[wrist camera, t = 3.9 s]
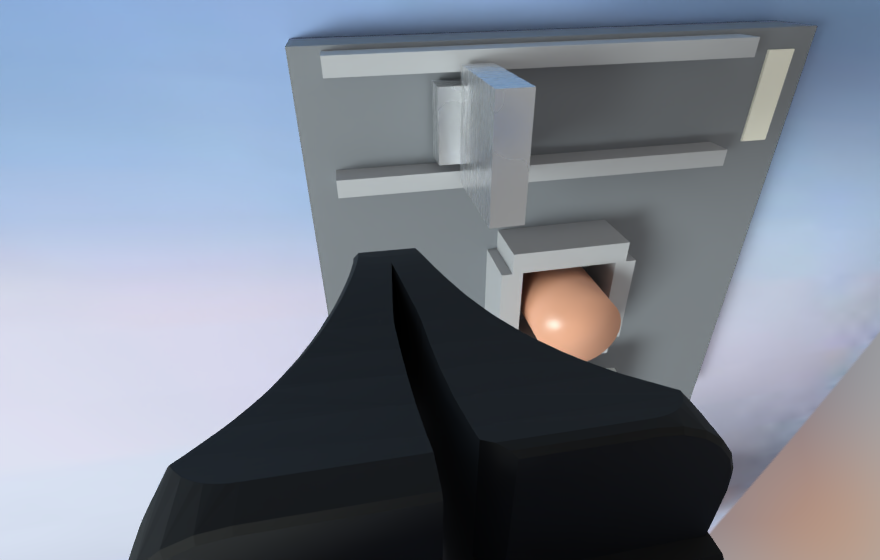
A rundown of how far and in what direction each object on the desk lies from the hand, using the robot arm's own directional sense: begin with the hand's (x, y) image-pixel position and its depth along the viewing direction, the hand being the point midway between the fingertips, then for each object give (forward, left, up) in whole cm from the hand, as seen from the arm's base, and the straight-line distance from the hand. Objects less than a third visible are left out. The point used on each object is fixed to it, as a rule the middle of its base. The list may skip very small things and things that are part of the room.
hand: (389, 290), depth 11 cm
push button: (-5, -7, -7) cm, 11 cm away
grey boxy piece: (+2, -3, -7) cm, 8 cm away
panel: (-5, -7, -10) cm, 13 cm away
